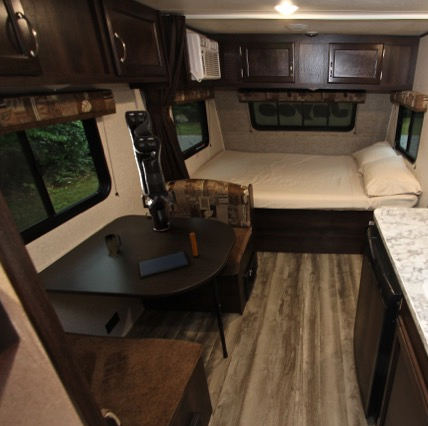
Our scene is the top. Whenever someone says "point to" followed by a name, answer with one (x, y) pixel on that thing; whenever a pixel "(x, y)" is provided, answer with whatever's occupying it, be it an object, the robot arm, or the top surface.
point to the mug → (113, 244)
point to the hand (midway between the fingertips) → (162, 213)
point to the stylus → (194, 244)
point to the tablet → (163, 264)
